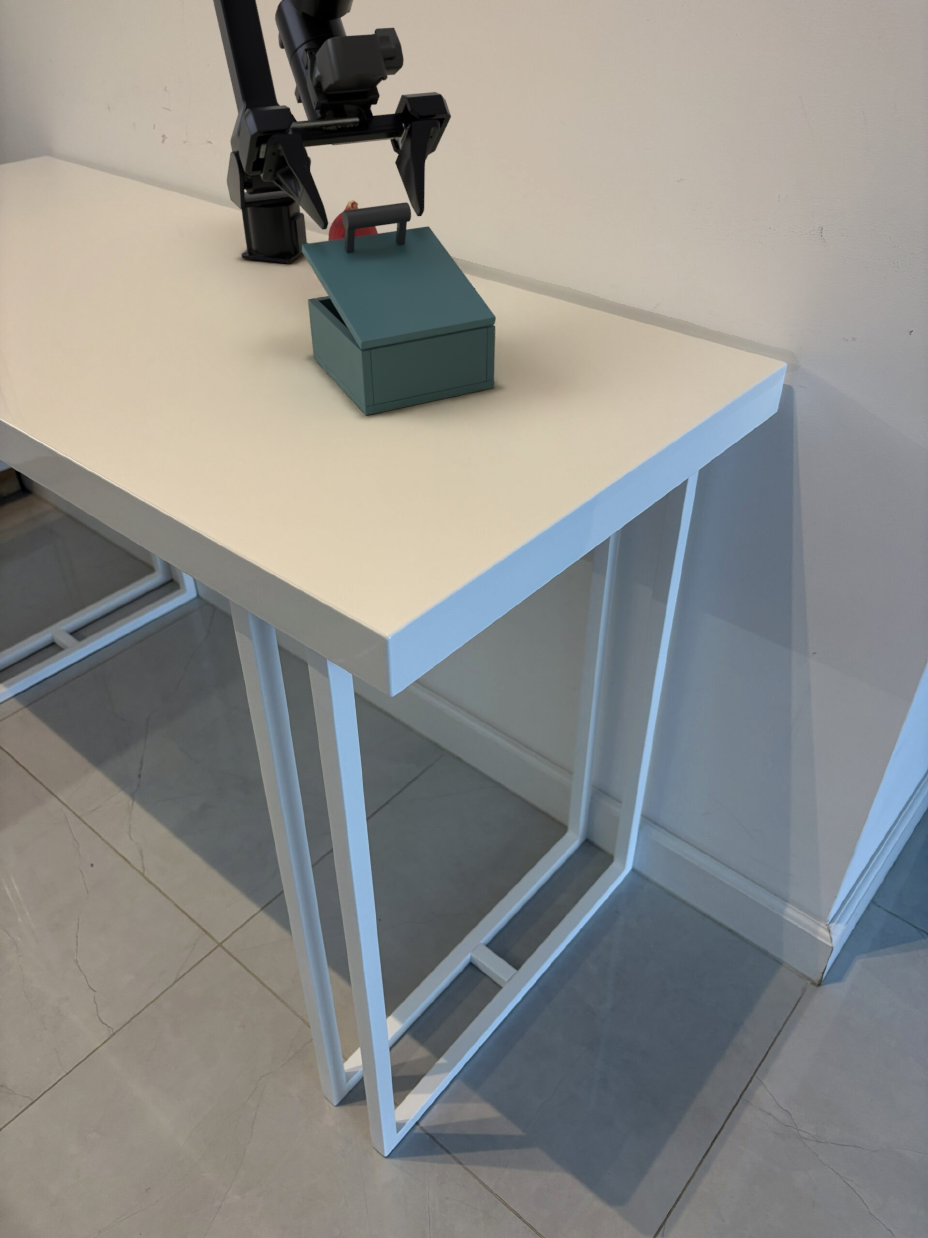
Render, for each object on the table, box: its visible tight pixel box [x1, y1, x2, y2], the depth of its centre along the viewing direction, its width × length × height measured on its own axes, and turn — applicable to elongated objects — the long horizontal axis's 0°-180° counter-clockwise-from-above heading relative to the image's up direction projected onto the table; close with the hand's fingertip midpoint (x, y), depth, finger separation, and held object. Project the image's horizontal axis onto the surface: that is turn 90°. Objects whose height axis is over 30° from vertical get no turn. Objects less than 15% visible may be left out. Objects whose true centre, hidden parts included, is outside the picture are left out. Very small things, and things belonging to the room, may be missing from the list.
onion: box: [328, 199, 379, 241], centre depth 107 cm, size 6×6×8 cm
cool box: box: [307, 295, 496, 416], centre depth 86 cm, size 14×13×6 cm
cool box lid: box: [302, 201, 497, 350], centre depth 81 cm, size 14×13×5 cm
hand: (374, 220), depth 83 cm, fingers open, 9 cm apart
